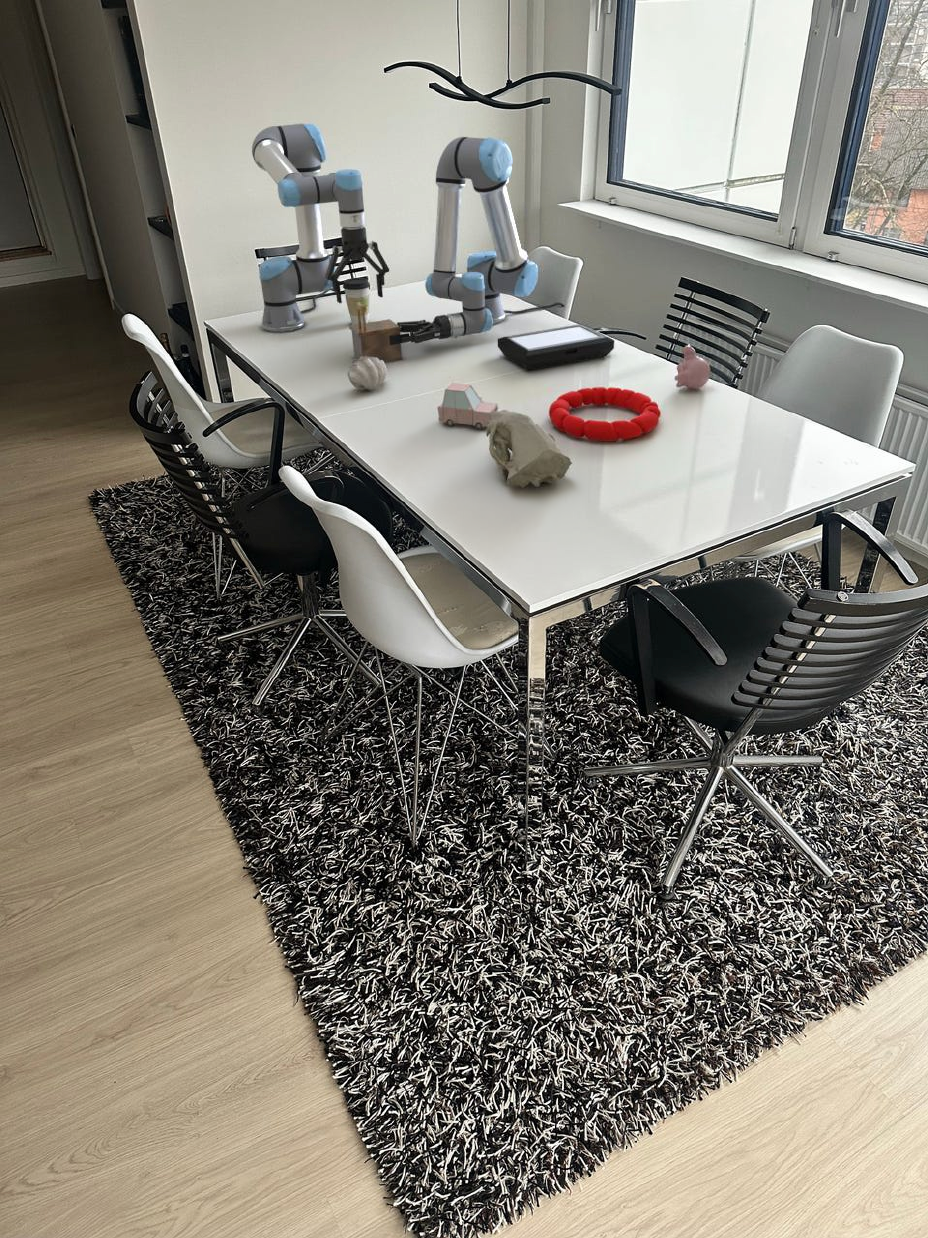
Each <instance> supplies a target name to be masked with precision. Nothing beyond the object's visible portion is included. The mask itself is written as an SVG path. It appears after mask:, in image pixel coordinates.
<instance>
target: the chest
mask: <svg viewBox="0 0 928 1238" xmlns="http://www.w3.org/2000/svg"><path fill="white" fill-rule="evenodd" d="M400 334H401V332H400V330H397V331H391V332H385V333H379V334H372V335H366V336H360V337H358V336H357V335H356V334H355V333H354V332H353V331H351V339H352V348H353V357H354V359H360V357H361V356H363V357H365V356H368V357H374V358H376V357H377V358H378V359H379V360H383V361H384V363H389V362H390V363H391V362H395V361H401V360H403V353H402V352H403V351H402V343H401V344H395V345H390V336H393V335H400Z"/></svg>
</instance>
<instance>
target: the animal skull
mask: <svg viewBox="0 0 928 1238" xmlns="http://www.w3.org/2000/svg"><path fill="white" fill-rule="evenodd" d="M485 436H486V438H487V437H489V438H488V440H489V444H488V445H489V446H488V450H489V454H490V456H491V457H492V458H493V459H494V460H495V462H496V464H497V466H499V468H500V470H501V471H502V472H501V478H502V479H507V480H506V484H507V486H517V487H518V486H519V488H523V489H524V488H526V486H527V485H529V483H531V485H533V486H534V487H536V488H540V485H541V484H542V482H544V483H549V484H550V485H553V484H555V483H556V482H557V480H561V479H563V478H565V476H566V474H567V472H568V471H569V469H570V467H571V466H572V464H573V462H572V461H571V458H570V457H568V456H567V455H565V453H564V451H562V449H561V448H560V446H559V444H557V443H556V439H555V438H554V436H553V435H551V434H550V433H548V432H547V431H546V430H545V429H544V428H542V427H541V426H539V425H538V424H537V423H536V424H535V422H534V421H533V419H532V418H531V417H530V416H529V415H527V414H524V413H519V412H515V411H509V410H507V409H502V410H500V411H499V410H497V411H496V412H492V413H491V414H490V422H488V423H487V427H486V435H485ZM511 453H512V454H511ZM511 455H512V457H513V458H512V460H511ZM507 474H508V475H507Z"/></svg>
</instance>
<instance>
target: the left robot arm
mask: <svg viewBox="0 0 928 1238" xmlns="http://www.w3.org/2000/svg"><path fill="white" fill-rule="evenodd" d="M251 155H252V158H253V160H254V162H255V164H256V165H257V166H258V168H260V169H261V170H262V171H265V172H266V173H267V174H268V175H269V176H270V178H271V179H272V180H273V181H274V183H275V184H276V186H277V194H278V198H279V200H280V204H281V205H282V206H283V207H286V208H289V207H292V208H294V210H295V220H296V229H297V238H298V250H297V251H296V252H295V259H293V260H292V258H291V257H290V256H288V255H282V256H275V257H271V258H268V259H265V260H264V261H262V262H261V263H260V265H259V266H258V273H259V274H258V275H259V280H260V287H261V292H262V299H263V313H262V319H261V326H262V330H264V331H265V332H271V333H286V332H293V331H296V330H297V331H298V330H300V329H302V328H304V326H305V319H304V317H303V314H305V313H309V312H311V311H313V310H315V309H316V308H317V304H316V299H317V298H320V297H322V296H324V295H325V294H327V293H328V292H330V291H331V292H334V293H335V296H336V302H337V303H338V304H342V303H343V302H342V301H343V300H342V291H341V283H340V282H341V281H340V280H338V279H339V278H340V276H341V275H342V273H343V271H344V270H345V268H346V266H347V265H348V263H349V262H350V261H352V262H353V261H356V260H358V261H361V260H363V259H365V261H366V262H367V263H368V264H369V265H370V266H371V267H372V268H373V269H374V270H375V271H376V272H377V274H375V279H376V280H375V281H376V289H377V290H376V291H377V297H379V298H383V297H384V294H383V286H385V285H386V284H385V275H386V274H387V273H389V272H390V268H389V266H388V264H387V262H386V261H385V258H384V257H383V255H382V253H381V252H380V250H379V246H378V242H376V241H374V240H372V241H371V242H368V239H367V238H368V237H367V229H366V227H365V226H366V215H365V207H364V206H365V205H364V193H363V181H362V175H361V172H360V170H358V169H350V168H349V169H348V168H347V169H340V170H336V172H330V173H327V174H326V175H325V174H323V175H318V174H319V173H320V172H321V170H322V166H321V165H322V163H324V162H326V159H327V158H326V156H327V152H326V146H325V142H324V139H323V136H322V133H321V131H320V130H319V128H318V126H317V125H315V124H314V123H295V124H294V123H293V124H284V125H271V126H268V127H265V128H263V129H262V130H261V131H260V132H258V134H257V135H256V136H255V138H254V139H253V142H252V145H251ZM328 203H329V204H330V203H337V205H338V213H339V214H338V215H339V224H340V227H341V229H340V235H341V246H336V245H333V246H332V247H331V248H332V249H331V250H332V251H331V252H332V253H331V255H329V251H328V250H327V249H326V248H325V247H324V237H323V236H324V235H323V226H322V225H323V224H322V214H321V204H328ZM369 249H370V250H372V252H373V254H374V255H375V258H376V259H377V261H378V263H379V264H380V266H381V267H380V266H379V265H378V264H377V263H376V261H374V260H373V258H371V256H370V255H369V254H368V253H367V252H368V250H369ZM341 252H342V253H343V256H342V257H341V260H340V262H339V263H338V265H337V262H338V259H339V255H340V254H341ZM336 265H337V266H336ZM313 293H318V294H316V295H315V296H314V297H312V307H310V308H306V309H303V310H300V307H299V306H298V305H299V304H298V303H297V295H299V296H300V295H305V294H313Z"/></svg>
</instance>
